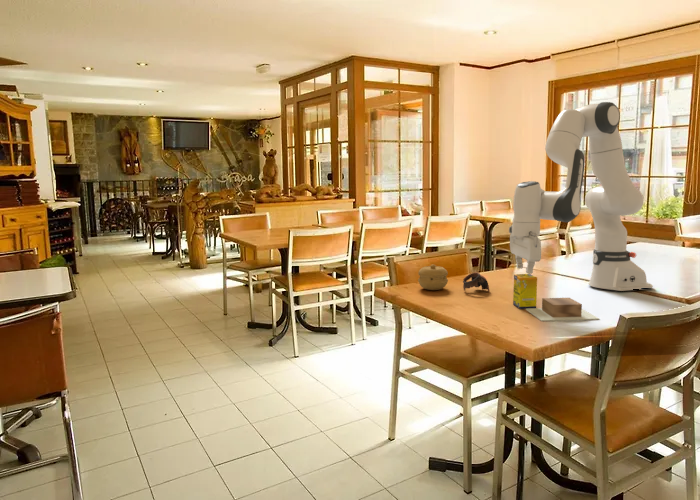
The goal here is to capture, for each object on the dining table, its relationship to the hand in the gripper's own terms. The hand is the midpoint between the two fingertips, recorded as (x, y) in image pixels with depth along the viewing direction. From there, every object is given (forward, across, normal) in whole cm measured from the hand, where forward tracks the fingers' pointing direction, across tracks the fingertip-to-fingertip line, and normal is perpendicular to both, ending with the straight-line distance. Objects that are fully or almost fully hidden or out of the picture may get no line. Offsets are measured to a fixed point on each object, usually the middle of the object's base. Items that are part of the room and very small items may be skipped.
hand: (524, 270), depth 178 cm
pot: (+13, +31, +26) cm, 42 cm away
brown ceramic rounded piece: (+14, +26, +8) cm, 30 cm away
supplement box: (+13, 0, -1) cm, 13 cm away
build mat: (+12, -11, -9) cm, 19 cm away
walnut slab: (+12, -11, -9) cm, 18 cm away
